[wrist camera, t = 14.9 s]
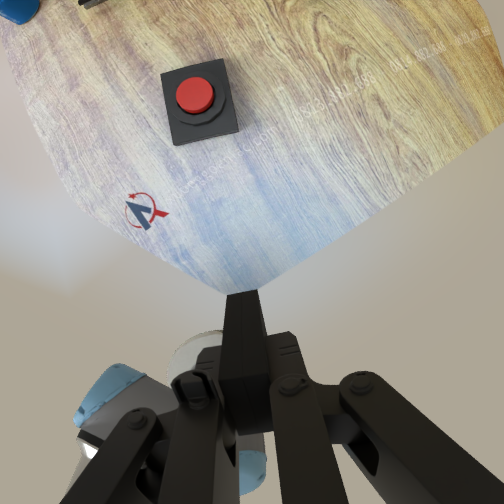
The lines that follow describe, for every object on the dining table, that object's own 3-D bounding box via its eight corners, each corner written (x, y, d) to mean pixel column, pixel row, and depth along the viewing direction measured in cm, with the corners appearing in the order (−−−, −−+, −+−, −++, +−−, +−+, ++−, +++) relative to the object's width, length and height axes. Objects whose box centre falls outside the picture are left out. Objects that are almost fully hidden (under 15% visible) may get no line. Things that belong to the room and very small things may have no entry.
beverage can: (13, 27, 31) (-21, 11, 19) (25, 2, 29) (-5, -17, 17) (33, 23, 31) (-2, 4, 20) (45, -3, 30) (15, -25, 18)
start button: (216, 108, 36) (215, 105, 34) (182, 117, 36) (179, 114, 34) (210, 78, 34) (208, 73, 32) (176, 86, 34) (173, 82, 32)
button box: (238, 131, 40) (238, 127, 36) (176, 146, 40) (170, 143, 36) (224, 63, 37) (222, 53, 33) (164, 78, 37) (156, 70, 33)
